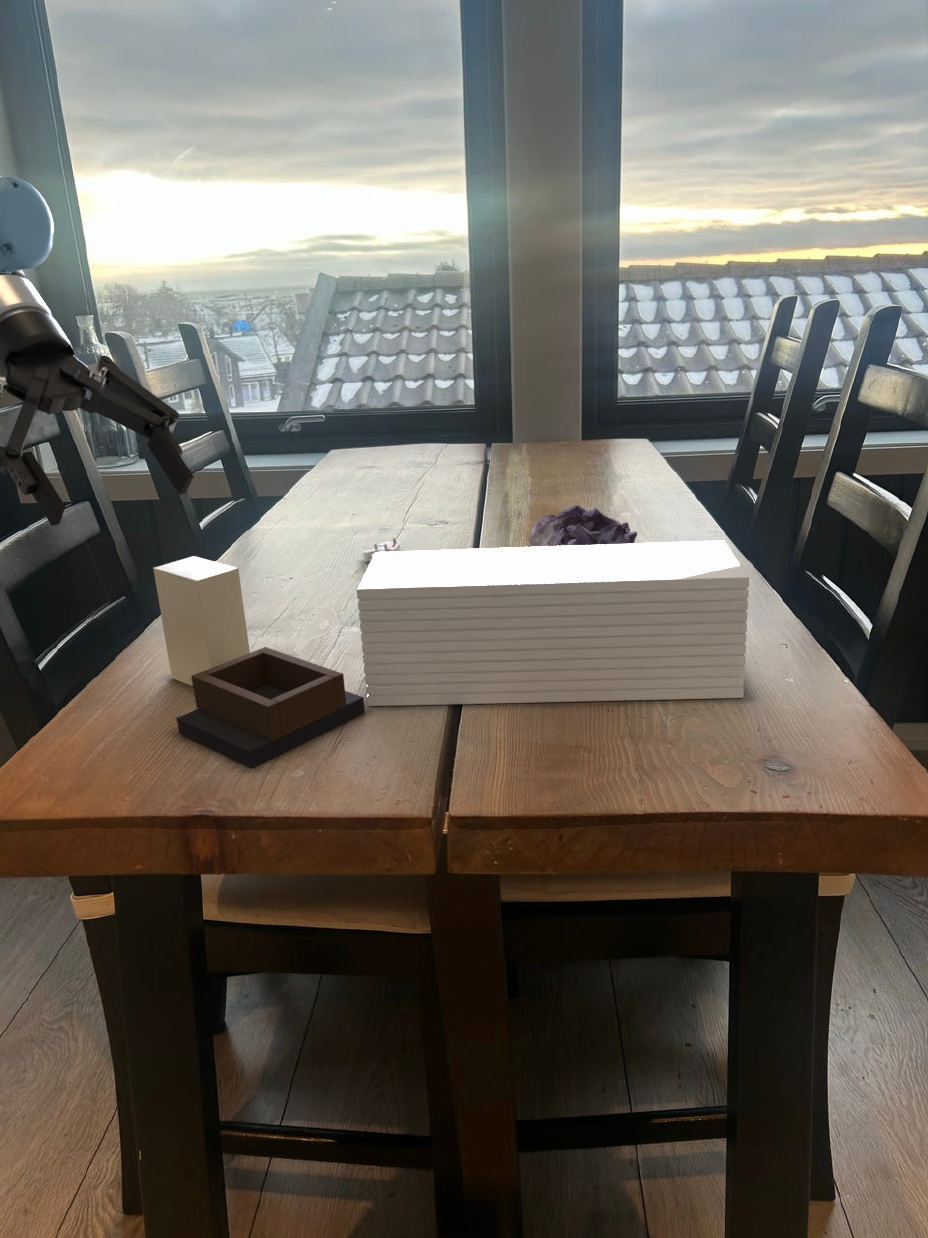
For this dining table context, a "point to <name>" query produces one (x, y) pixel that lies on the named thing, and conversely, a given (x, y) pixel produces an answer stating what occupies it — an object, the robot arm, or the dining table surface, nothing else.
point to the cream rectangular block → (201, 615)
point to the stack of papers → (554, 624)
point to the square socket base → (266, 705)
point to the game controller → (383, 549)
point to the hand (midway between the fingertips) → (125, 500)
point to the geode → (579, 529)
